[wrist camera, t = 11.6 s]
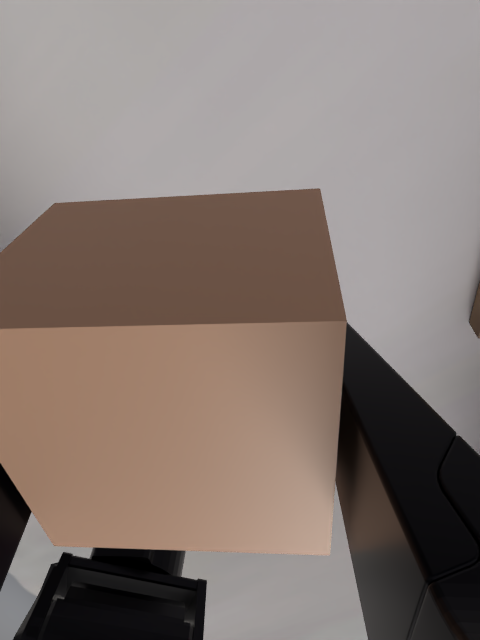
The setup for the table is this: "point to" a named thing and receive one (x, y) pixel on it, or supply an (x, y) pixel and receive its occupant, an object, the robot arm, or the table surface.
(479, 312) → the walnut board
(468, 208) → the table surface
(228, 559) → the table surface
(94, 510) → the tan brick
